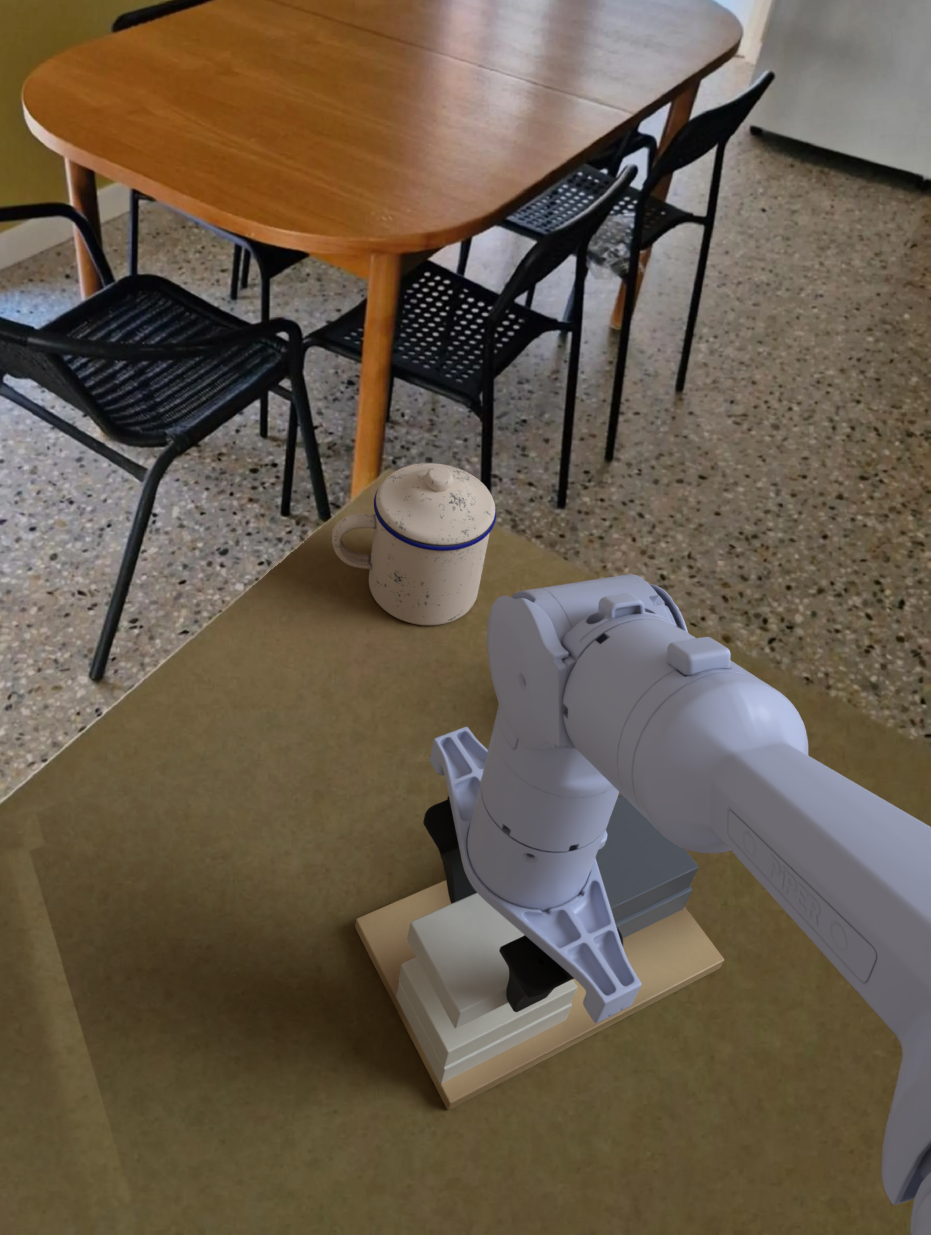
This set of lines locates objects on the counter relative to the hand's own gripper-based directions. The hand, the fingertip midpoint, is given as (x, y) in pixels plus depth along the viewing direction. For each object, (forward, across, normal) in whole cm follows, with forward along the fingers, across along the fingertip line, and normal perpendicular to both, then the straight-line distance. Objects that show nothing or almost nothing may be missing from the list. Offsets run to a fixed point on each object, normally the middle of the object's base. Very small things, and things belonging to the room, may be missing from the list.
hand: (498, 949), depth 57 cm
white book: (0, 0, 0) cm, 0 cm away
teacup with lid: (+8, +31, -12) cm, 34 cm away
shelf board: (+8, +2, -5) cm, 9 cm away
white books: (+6, 0, 0) cm, 6 cm away
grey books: (+6, +3, -10) cm, 12 cm away
